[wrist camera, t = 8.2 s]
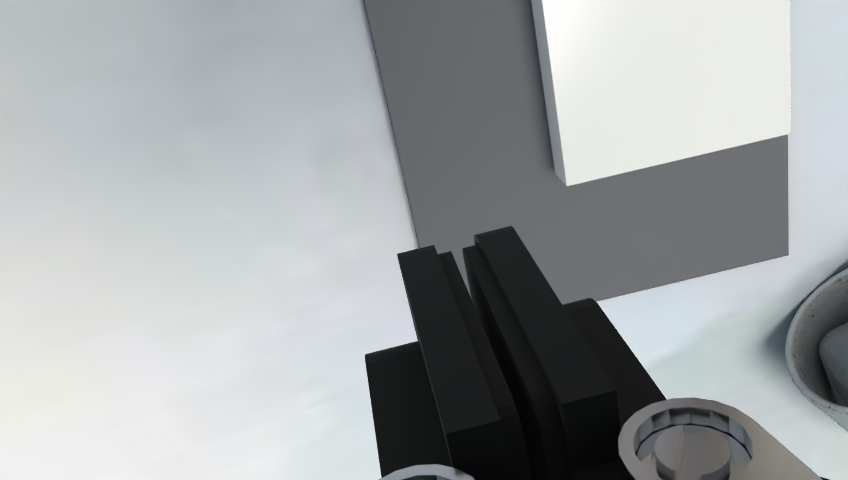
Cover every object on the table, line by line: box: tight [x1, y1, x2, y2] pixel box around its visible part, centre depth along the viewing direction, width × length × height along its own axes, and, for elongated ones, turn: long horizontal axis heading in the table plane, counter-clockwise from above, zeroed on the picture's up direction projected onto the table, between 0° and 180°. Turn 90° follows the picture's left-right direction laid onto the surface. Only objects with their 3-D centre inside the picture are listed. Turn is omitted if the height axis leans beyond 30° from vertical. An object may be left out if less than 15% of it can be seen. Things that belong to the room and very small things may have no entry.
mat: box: [364, 0, 789, 304], centre depth 31 cm, size 16×16×1 cm
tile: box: [531, 0, 791, 186], centre depth 29 cm, size 9×2×9 cm
